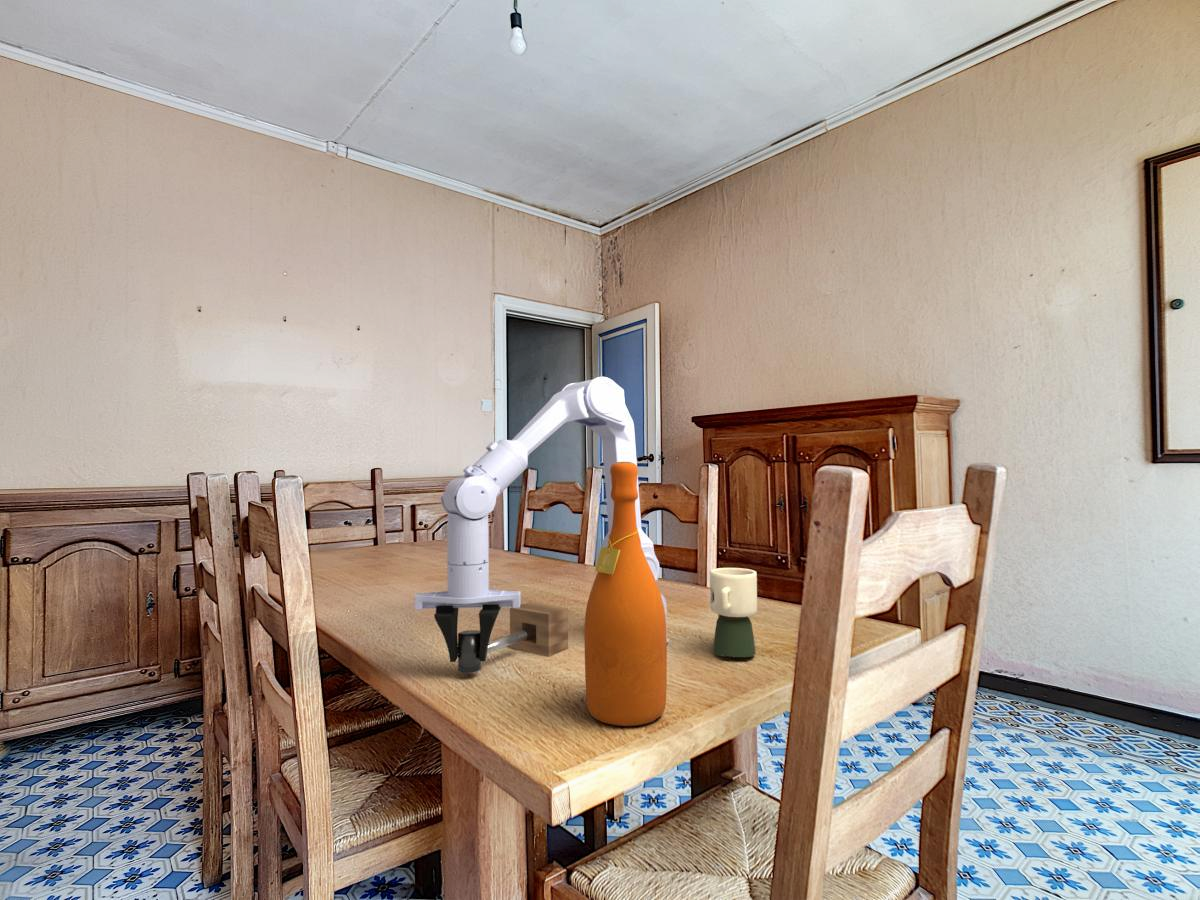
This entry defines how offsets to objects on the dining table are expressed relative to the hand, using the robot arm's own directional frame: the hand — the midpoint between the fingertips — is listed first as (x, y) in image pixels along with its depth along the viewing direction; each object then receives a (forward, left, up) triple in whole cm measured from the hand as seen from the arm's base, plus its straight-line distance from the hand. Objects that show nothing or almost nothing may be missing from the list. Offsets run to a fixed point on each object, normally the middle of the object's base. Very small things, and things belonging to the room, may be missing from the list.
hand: (468, 659), depth 85 cm
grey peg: (0, -5, -1) cm, 5 cm away
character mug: (-28, -28, -3) cm, 40 cm away
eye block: (0, -15, -2) cm, 16 cm away
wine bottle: (-25, -1, -3) cm, 25 cm away
